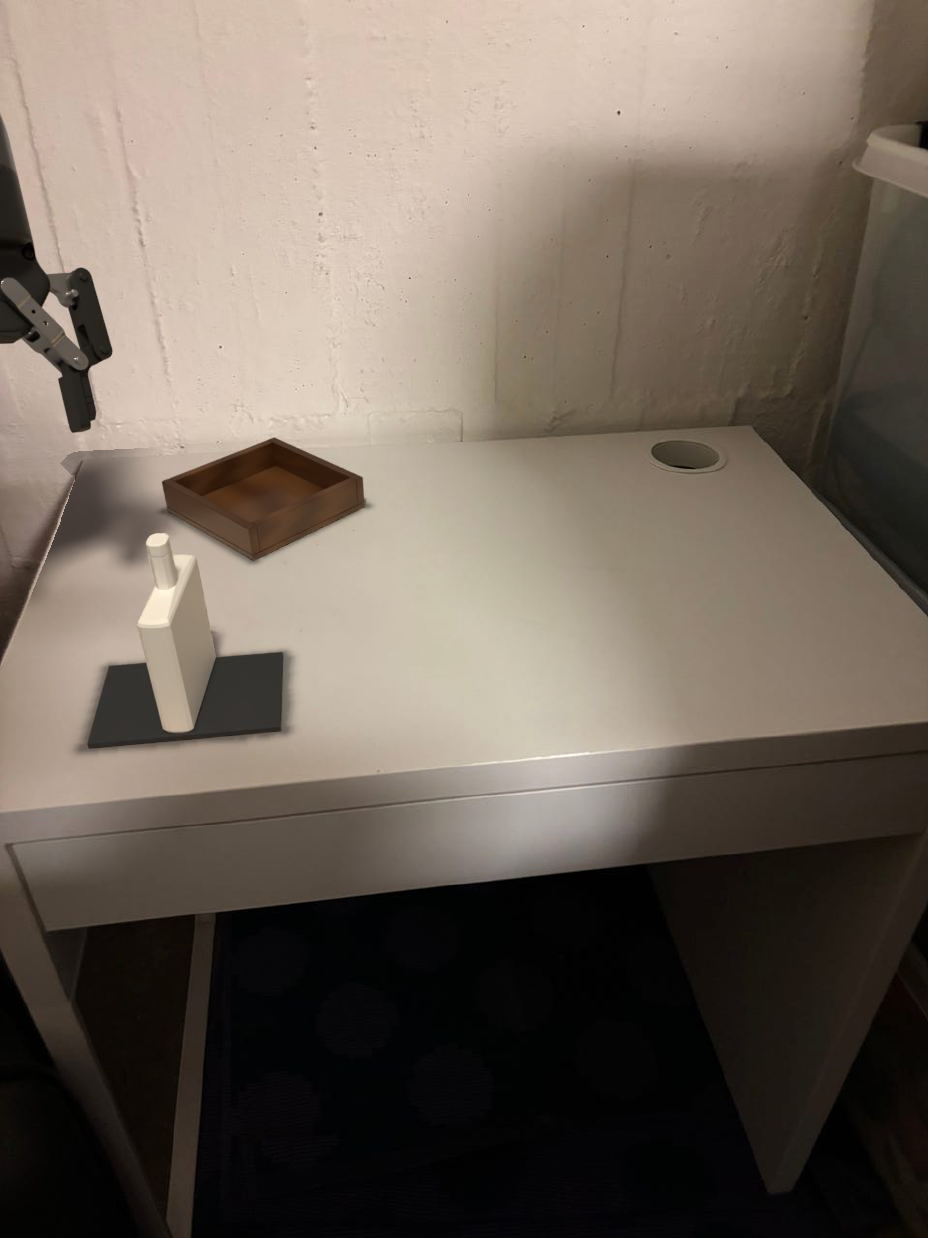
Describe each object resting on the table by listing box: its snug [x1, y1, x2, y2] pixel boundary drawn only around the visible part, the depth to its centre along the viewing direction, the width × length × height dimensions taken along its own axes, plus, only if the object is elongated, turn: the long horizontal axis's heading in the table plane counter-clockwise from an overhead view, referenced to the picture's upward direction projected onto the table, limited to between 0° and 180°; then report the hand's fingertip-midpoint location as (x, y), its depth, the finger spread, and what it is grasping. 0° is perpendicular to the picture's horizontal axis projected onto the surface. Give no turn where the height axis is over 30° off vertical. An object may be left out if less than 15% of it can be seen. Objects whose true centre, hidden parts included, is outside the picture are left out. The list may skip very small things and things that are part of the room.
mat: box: [87, 651, 284, 749], centre depth 62 cm, size 12×8×1 cm, turn 98°
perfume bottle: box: [136, 532, 217, 733], centre depth 59 cm, size 8×2×12 cm, turn 1°
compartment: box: [161, 436, 366, 561], centre depth 83 cm, size 13×13×3 cm
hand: (16, 437), depth 60 cm, fingers open, 8 cm apart
